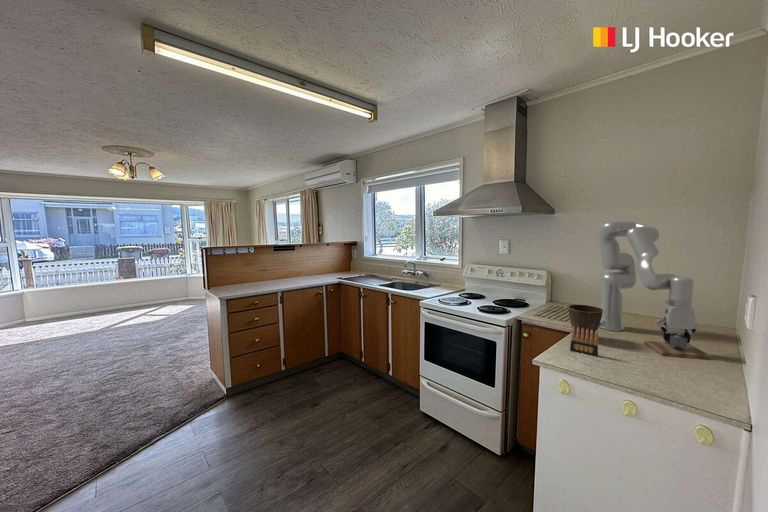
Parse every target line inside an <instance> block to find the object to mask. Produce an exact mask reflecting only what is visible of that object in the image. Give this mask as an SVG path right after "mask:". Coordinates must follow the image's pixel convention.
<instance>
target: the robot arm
mask: <svg viewBox="0 0 768 512" xmlns="http://www.w3.org/2000/svg"><path fill="white" fill-rule="evenodd" d="M618 237H619V238H621V237H622V238H625V237H626V239H627V240H628V242H629V244H630V246H631V248H632V250H633V251H634V253H635V255H636V256H637V261H636V264H635V259H634V258H633V256H632V255H631V254H629V253H628V252H621V250H620V244H619V243H620V242H618V240H617V239H616V238H618ZM659 237H660V233H659V231H658V229H657V228H655V227H653V226H652V225H648V224H643V223H640V222H638V221H631V220H630V221H629V220H624V221H622V220H621V221H620V220H618V221H617V220H615V221H609V222H606V223H603V224H602V225H601V227H600V228H599V231H598V240H599V244H600V254H601V264H602V267H603V269H606V270H608V271H611V272H606V273H604V274H602V276H601V277H600V281H599V282H600V287H601V297H600V299H601V302H600V303H601V304H600V308H601V309H602V310H603V313H602V318H601V321H600V324H599V327H598V328H600V329H603V330H606V331H612V332H620V331H621V332H623V331H624V330H625V327H624V326H623V325H622V313H623V295H622V292H621V290H624V289H625V290H627V289H631V288H633V287H634V286H635V285H636V282H637V276H638V277H639V279H640V281H641V283H642V285H643V286H644V287H645V288H646V289H648V290H651V291H663V290H666V291H667V290H669V293H668V299H667V300H665V301H664V302H665V304H666V306H665V307H664V308H665V309H664V312H663V317H662V319H661V320H660V321H658V322H657V323H656V326H657V327H658V328H659V329H660V330H661V331H662V332H663V335H662V336H663V340H664V342H665V341H667V342H670V333H671V331H672V330H683V331H684V332H683V334H682V335H684V336H686V337H688V344H690V342H691V339H692V338H691V336H692V335H693V334H694V333H696V331H697V330H699V329H701V328H700V325H699V324H697V323H696V316H695V310H694V309H695V308H694V307H692V304H693V303H692V302H693V292H694V291H693V290H694V280H693V278H691V277H689V276H688V277H687V276H681V275H680V276H679V275H675V274H671V273H656V272H655V271H654V268H653V266H652V261H653V259H654V258H655V257H657V256H658V255H659V252H660V251H659V250H658V248H657V246H656V245H655V242H656V241H657V240H658V239H659ZM612 271H614V272H612ZM636 273H637V275H636Z"/></svg>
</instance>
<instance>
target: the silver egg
mask: <svg viewBox="0 0 768 512" xmlns="http://www.w3.org/2000/svg"><path fill="white" fill-rule="evenodd" d="M674 337H678V338H681V337H679V336H674ZM671 348H673V349H678V350H680V349H681V347H677V346H673V345H671Z"/></svg>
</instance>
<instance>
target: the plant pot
mask: <svg viewBox="0 0 768 512" xmlns="http://www.w3.org/2000/svg"><path fill="white" fill-rule="evenodd" d="M602 313H603V310H602V309H601V307H597V306H593V305H586V304H571V305H568V316H569V320H570V325H571V328H573V326H574V327H575V338H576V332H577V328H578V327H579V331H580V336H581V330H582V328H584V340H585V334H586V329H587V328H588V331H589V338H590V332H591V330H593V338H594V337H595V332H596V330H597V331H598V329H599V328H600V327H599V324H600V321H601V318H602Z"/></svg>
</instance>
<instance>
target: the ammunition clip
mask: <svg viewBox="0 0 768 512" xmlns="http://www.w3.org/2000/svg"><path fill="white" fill-rule="evenodd" d="M571 328H572V327H571ZM598 332H599V331H598V330H596V332H595V336H594V338H593V330H591V332H590V338H589V331H588V328H587V329H586V334H585V341H584V328H582V330H581V336H580V331H579V327H578V328H577V332H576V337H575V327H574V326H573V328H572V329H571V336H570V345H569V346H570V347H569V352H573V353H577V352H578V353H577V354H582V353H583V354H582V355H586V354H587V356H591V355H592V356H591V357H595V356H596V358H598V356H599V333H598Z"/></svg>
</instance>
